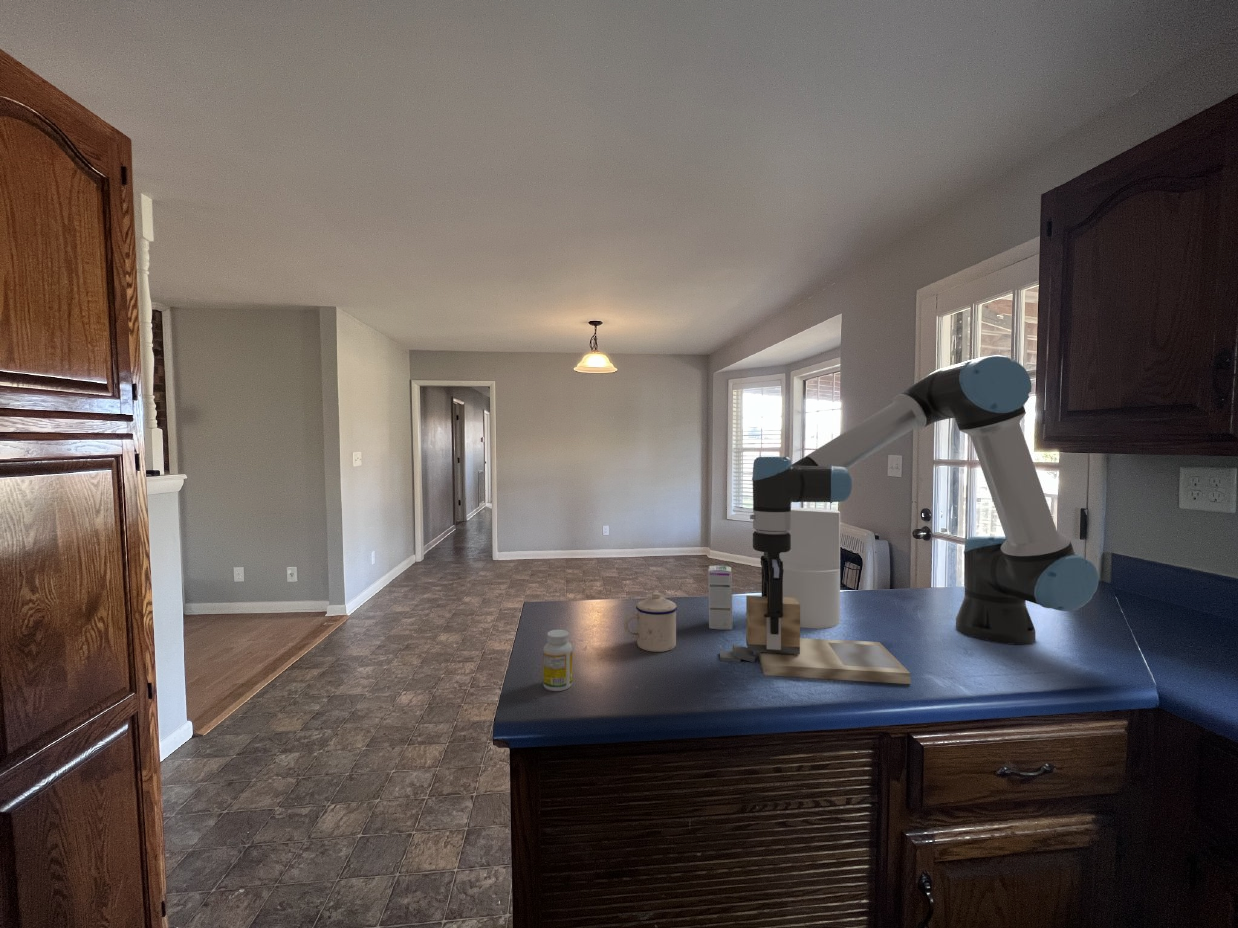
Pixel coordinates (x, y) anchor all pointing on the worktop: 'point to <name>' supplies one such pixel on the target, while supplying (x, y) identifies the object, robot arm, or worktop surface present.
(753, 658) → the chip
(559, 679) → the supplement bottle
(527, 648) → the worktop surface
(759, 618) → the sanding block
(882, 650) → the maple board
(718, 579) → the syrup box
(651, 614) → the teacup with lid
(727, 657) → the chip
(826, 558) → the cylinder
